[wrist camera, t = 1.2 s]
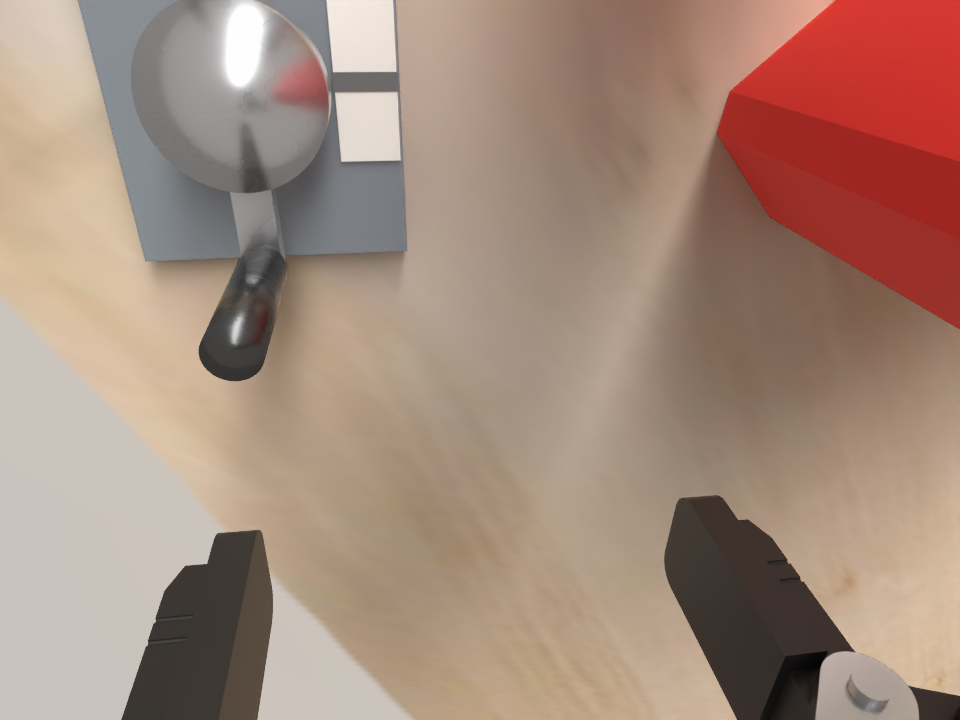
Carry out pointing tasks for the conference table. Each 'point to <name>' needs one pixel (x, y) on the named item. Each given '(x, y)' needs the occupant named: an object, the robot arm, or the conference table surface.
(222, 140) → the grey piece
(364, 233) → the stand
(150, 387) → the conference table surface
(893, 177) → the book
